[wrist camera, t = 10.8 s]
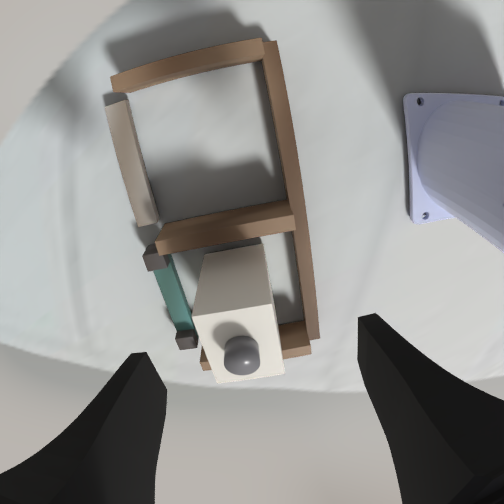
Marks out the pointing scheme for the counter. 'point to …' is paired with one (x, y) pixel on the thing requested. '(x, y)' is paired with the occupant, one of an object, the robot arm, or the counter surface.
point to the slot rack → (227, 222)
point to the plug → (238, 315)
